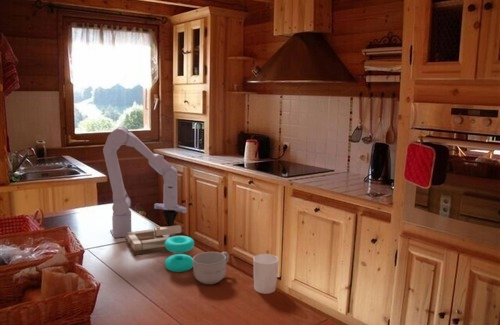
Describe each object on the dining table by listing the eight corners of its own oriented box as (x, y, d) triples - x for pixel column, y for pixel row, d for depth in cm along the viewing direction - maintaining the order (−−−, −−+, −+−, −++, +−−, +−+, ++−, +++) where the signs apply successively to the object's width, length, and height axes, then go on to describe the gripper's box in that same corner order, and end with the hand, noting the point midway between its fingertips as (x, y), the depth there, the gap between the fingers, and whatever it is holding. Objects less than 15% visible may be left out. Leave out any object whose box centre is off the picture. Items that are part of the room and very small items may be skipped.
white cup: (248, 284, 135) (249, 255, 133) (271, 281, 138) (272, 252, 136) (257, 296, 128) (259, 265, 126) (281, 292, 131) (283, 262, 129)
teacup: (204, 291, 130) (204, 266, 128) (185, 278, 138) (186, 255, 137) (240, 279, 139) (240, 256, 137) (220, 267, 147) (221, 245, 145)
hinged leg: (156, 236, 168) (156, 228, 168) (154, 234, 170) (154, 226, 170) (181, 232, 173) (181, 225, 173) (179, 230, 175) (179, 223, 175)
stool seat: (125, 243, 166) (125, 232, 165) (160, 238, 172) (160, 227, 172) (134, 256, 154) (134, 244, 153) (171, 250, 160) (171, 239, 159)
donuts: (175, 232, 151) (199, 237, 147) (175, 259, 153) (199, 264, 149) (158, 241, 142) (183, 247, 138) (158, 269, 144) (183, 275, 140)
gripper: (150, 195, 175) (150, 227, 177) (181, 200, 170) (180, 232, 172) (159, 192, 181) (159, 222, 184) (189, 196, 177) (189, 227, 179)
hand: (170, 227), depth 179 cm, fingers closed
